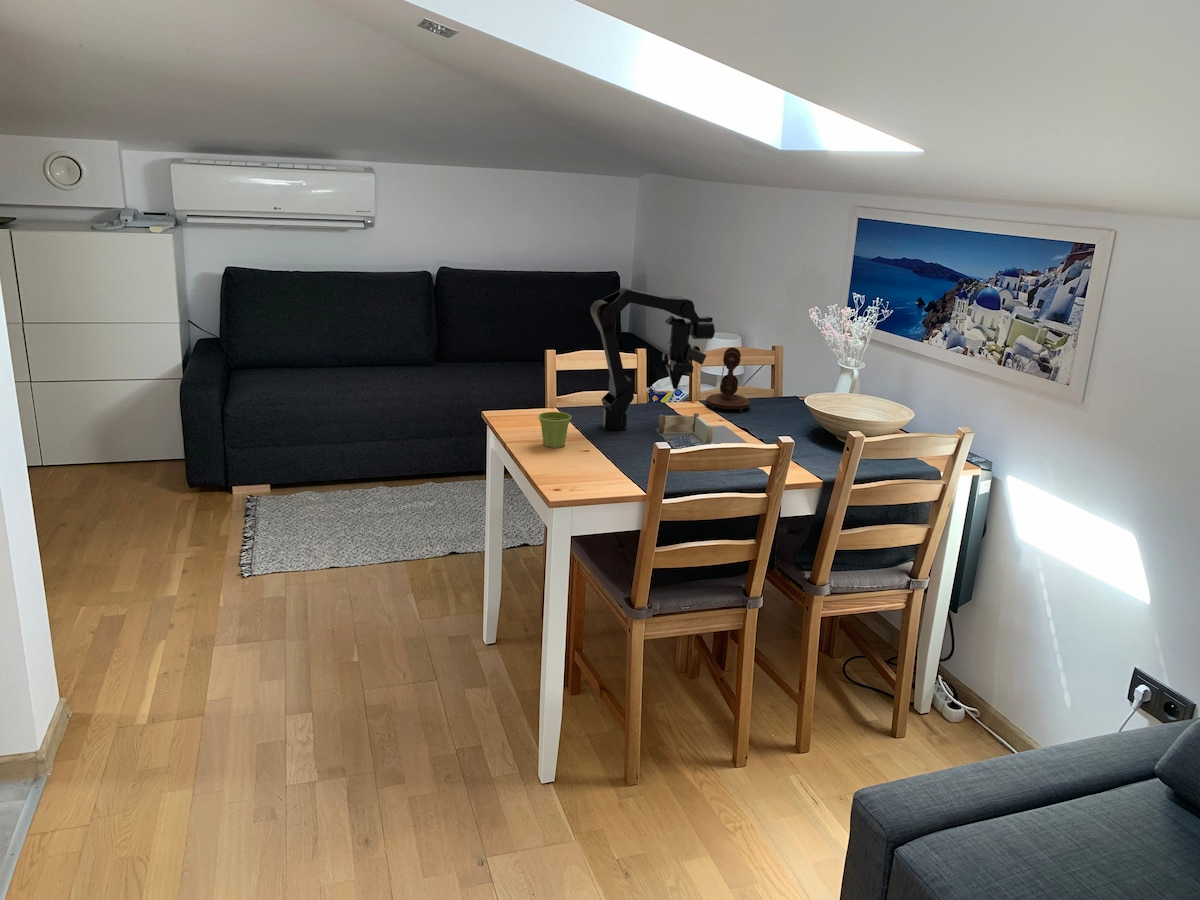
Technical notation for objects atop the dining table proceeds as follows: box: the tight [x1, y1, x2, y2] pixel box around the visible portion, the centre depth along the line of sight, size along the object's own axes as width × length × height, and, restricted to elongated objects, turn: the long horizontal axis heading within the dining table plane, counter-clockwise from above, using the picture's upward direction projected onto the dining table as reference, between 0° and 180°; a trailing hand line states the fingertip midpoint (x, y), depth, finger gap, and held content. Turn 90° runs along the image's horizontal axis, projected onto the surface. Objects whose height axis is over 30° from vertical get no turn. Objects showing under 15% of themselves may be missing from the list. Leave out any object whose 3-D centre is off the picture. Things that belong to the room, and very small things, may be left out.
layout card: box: [658, 425, 749, 449], centre depth 279 cm, size 24×21×1 cm
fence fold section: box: [695, 416, 714, 443], centre depth 276 cm, size 12×2×5 cm, turn 15°
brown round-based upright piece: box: [705, 347, 751, 413], centre depth 311 cm, size 15×15×20 cm
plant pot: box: [537, 411, 572, 449], centre depth 263 cm, size 9×9×9 cm
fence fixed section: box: [657, 412, 700, 434], centre depth 282 cm, size 13×2×6 cm, turn 105°
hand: (675, 388), depth 287 cm, fingers closed
